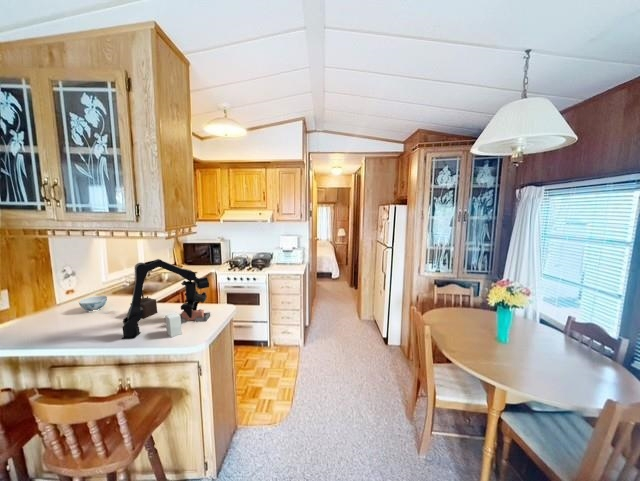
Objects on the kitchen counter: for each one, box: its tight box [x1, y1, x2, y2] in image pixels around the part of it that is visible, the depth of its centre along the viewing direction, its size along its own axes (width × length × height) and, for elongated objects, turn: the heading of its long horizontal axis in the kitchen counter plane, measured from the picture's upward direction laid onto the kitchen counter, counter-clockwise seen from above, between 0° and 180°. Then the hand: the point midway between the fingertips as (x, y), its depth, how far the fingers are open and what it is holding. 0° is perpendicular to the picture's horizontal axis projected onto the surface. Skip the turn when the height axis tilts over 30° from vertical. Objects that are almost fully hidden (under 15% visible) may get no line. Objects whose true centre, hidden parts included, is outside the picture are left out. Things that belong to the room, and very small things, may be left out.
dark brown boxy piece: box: [130, 290, 158, 320], centre depth 176 cm, size 16×11×18 cm
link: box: [180, 308, 205, 322], centre depth 166 cm, size 12×4×6 cm, turn 95°
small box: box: [164, 312, 183, 338], centre depth 148 cm, size 8×6×10 cm
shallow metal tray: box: [179, 312, 211, 324], centre depth 167 cm, size 18×8×2 cm, turn 96°
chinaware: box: [78, 295, 108, 312], centre depth 186 cm, size 15×15×8 cm
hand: (192, 315), depth 166 cm, fingers open, 7 cm apart
